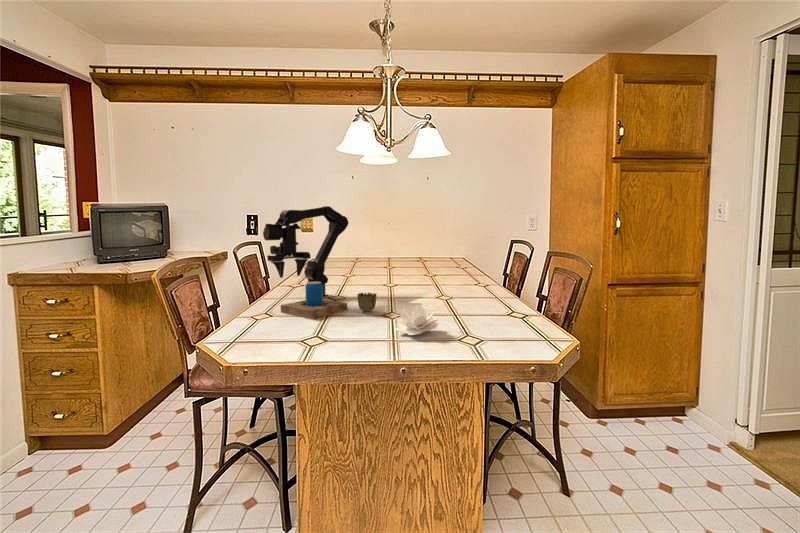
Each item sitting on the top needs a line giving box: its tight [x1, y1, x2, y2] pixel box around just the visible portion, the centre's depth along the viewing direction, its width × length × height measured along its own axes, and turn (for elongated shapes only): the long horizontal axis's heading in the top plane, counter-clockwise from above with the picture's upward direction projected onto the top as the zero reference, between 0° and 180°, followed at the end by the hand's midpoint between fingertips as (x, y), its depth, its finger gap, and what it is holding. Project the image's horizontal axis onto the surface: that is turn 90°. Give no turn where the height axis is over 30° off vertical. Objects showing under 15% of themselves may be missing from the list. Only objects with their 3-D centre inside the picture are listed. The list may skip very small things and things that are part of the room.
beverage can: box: [305, 281, 324, 307], centre depth 171 cm, size 6×6×12 cm
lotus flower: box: [393, 303, 440, 336], centre depth 144 cm, size 14×15×9 cm
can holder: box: [280, 299, 348, 321], centre depth 172 cm, size 18×18×4 cm
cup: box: [356, 292, 377, 314], centre depth 169 cm, size 8×7×8 cm
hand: (290, 276), depth 188 cm, fingers open, 9 cm apart
